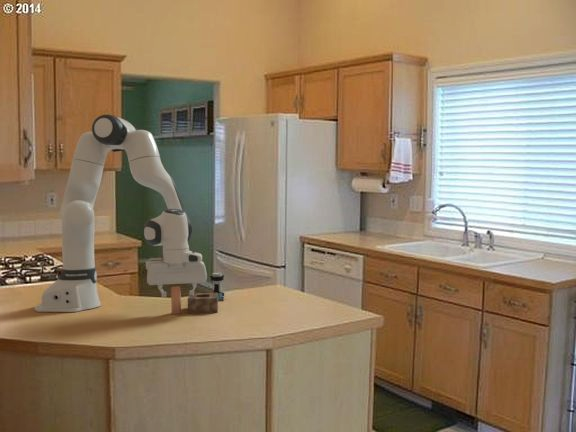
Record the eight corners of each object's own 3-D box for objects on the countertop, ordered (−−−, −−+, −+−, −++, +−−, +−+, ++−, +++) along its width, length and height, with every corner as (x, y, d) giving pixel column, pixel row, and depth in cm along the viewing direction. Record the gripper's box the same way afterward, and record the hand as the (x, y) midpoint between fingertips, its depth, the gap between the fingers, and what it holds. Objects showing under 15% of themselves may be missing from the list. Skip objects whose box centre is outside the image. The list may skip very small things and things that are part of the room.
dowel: (171, 314, 213) (170, 288, 212) (172, 312, 216) (171, 286, 216) (180, 314, 213) (180, 288, 213) (181, 312, 217) (180, 286, 216)
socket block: (187, 313, 214) (187, 299, 214) (190, 307, 224) (189, 293, 224) (217, 312, 215) (217, 298, 215) (218, 306, 225) (217, 292, 225)
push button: (230, 299, 237) (229, 273, 237) (221, 301, 233) (220, 275, 232) (216, 297, 241) (216, 271, 240) (207, 300, 236) (206, 273, 236)
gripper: (144, 259, 210) (146, 299, 211) (205, 256, 212) (207, 296, 213) (146, 256, 216) (148, 296, 217) (206, 254, 218) (207, 293, 219)
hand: (177, 296), depth 215 cm, fingers open, 8 cm apart
